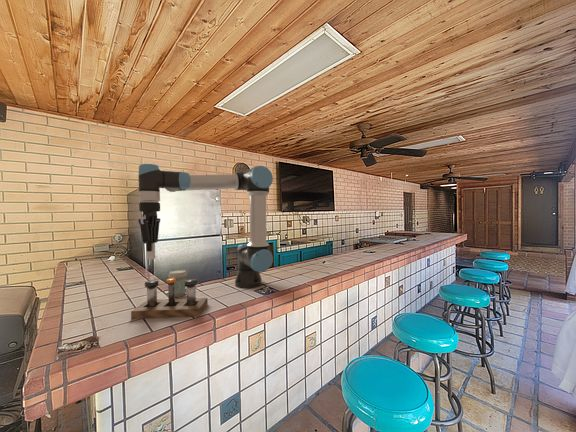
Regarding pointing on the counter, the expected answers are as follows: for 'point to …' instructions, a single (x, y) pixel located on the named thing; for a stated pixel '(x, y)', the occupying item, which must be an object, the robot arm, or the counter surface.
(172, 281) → the dark piece
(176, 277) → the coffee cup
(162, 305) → the mount board
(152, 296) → the knob
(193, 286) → the knob
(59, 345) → the counter surface
